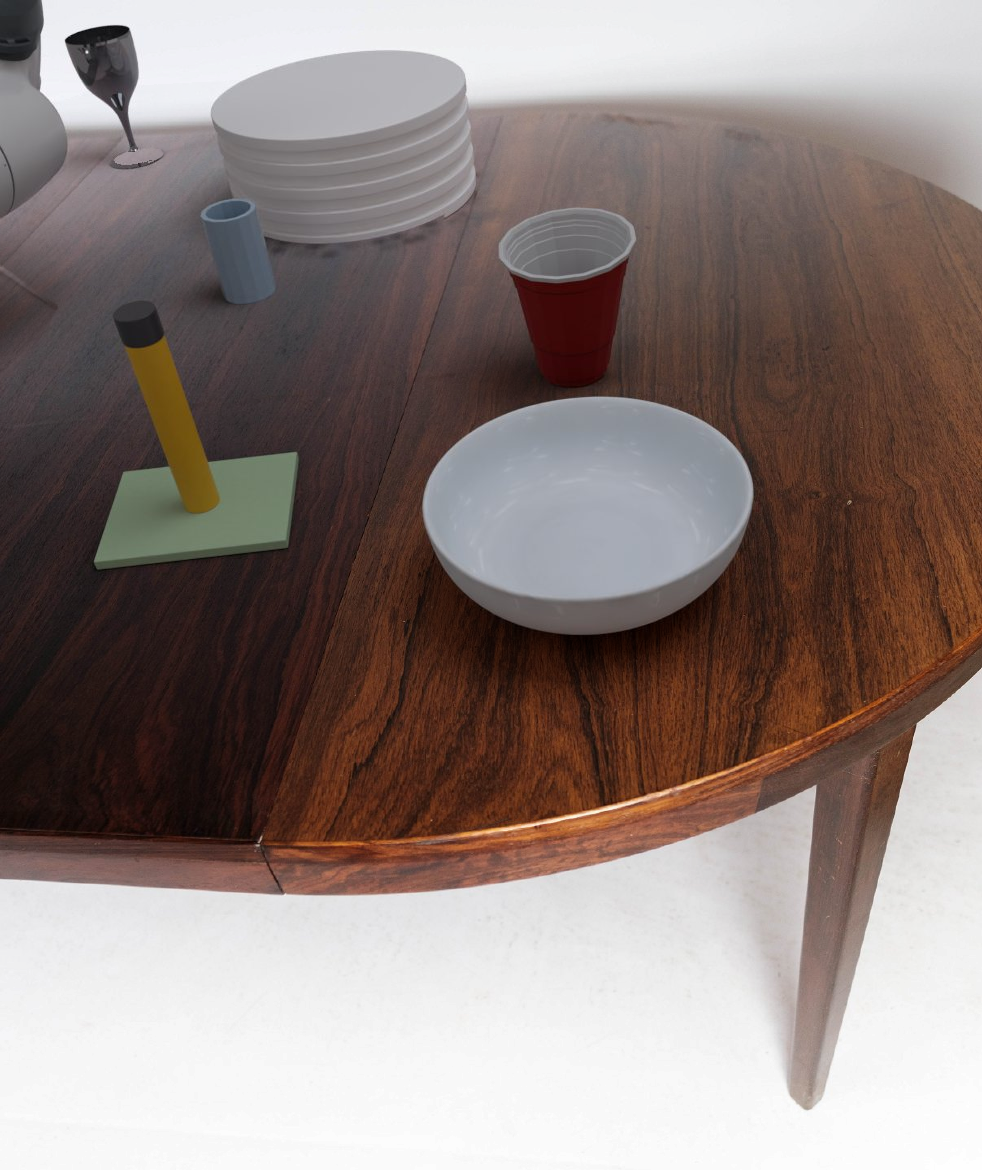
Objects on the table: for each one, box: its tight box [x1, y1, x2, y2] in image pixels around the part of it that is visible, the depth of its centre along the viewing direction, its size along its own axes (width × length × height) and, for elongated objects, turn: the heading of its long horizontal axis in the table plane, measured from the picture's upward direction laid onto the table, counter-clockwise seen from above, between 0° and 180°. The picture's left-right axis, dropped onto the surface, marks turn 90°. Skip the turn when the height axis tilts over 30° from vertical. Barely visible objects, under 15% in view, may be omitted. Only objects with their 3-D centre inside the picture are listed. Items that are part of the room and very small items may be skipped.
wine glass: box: [64, 24, 157, 170], centre depth 134 cm, size 8×8×15 cm
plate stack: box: [210, 49, 477, 245], centre depth 119 cm, size 28×28×12 cm
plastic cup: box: [498, 207, 637, 388], centre depth 86 cm, size 11×11×12 cm
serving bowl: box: [421, 396, 754, 636], centre depth 69 cm, size 21×21×7 cm
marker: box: [112, 300, 220, 513], centre depth 74 cm, size 3×3×16 cm
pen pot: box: [199, 198, 277, 305], centre depth 103 cm, size 5×5×9 cm
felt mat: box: [93, 451, 300, 571], centre depth 80 cm, size 14×11×1 cm
